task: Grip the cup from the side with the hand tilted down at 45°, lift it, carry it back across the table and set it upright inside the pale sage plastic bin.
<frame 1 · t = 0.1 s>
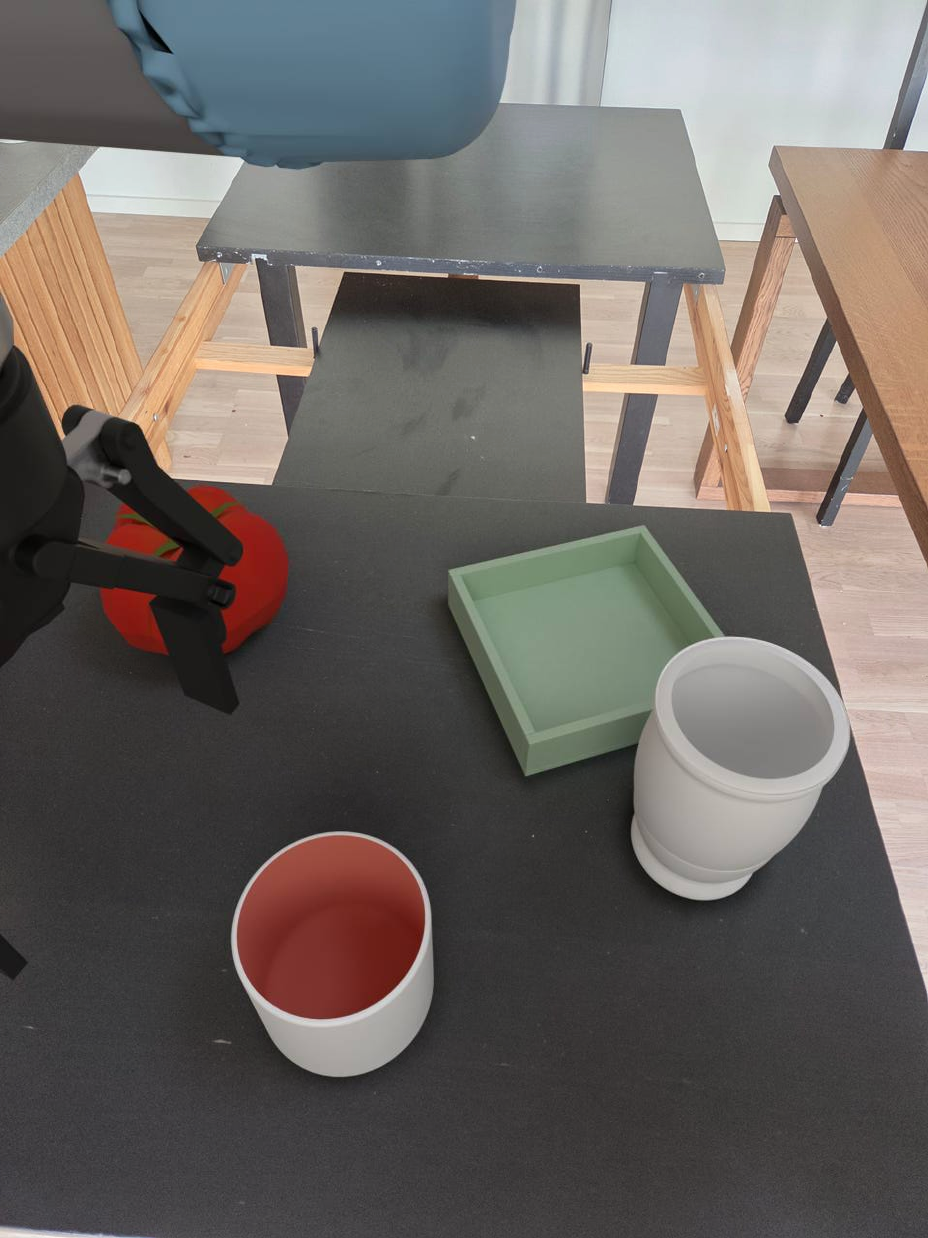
hand: (116, 813, 36), 19 cm above the table, tool pointing down, fingers open, 13 cm apart
cup: (349, 990, 50), on the table
jar: (691, 843, 57), on the table
tomato: (210, 624, 69), on the table
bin: (587, 656, 67), on the table
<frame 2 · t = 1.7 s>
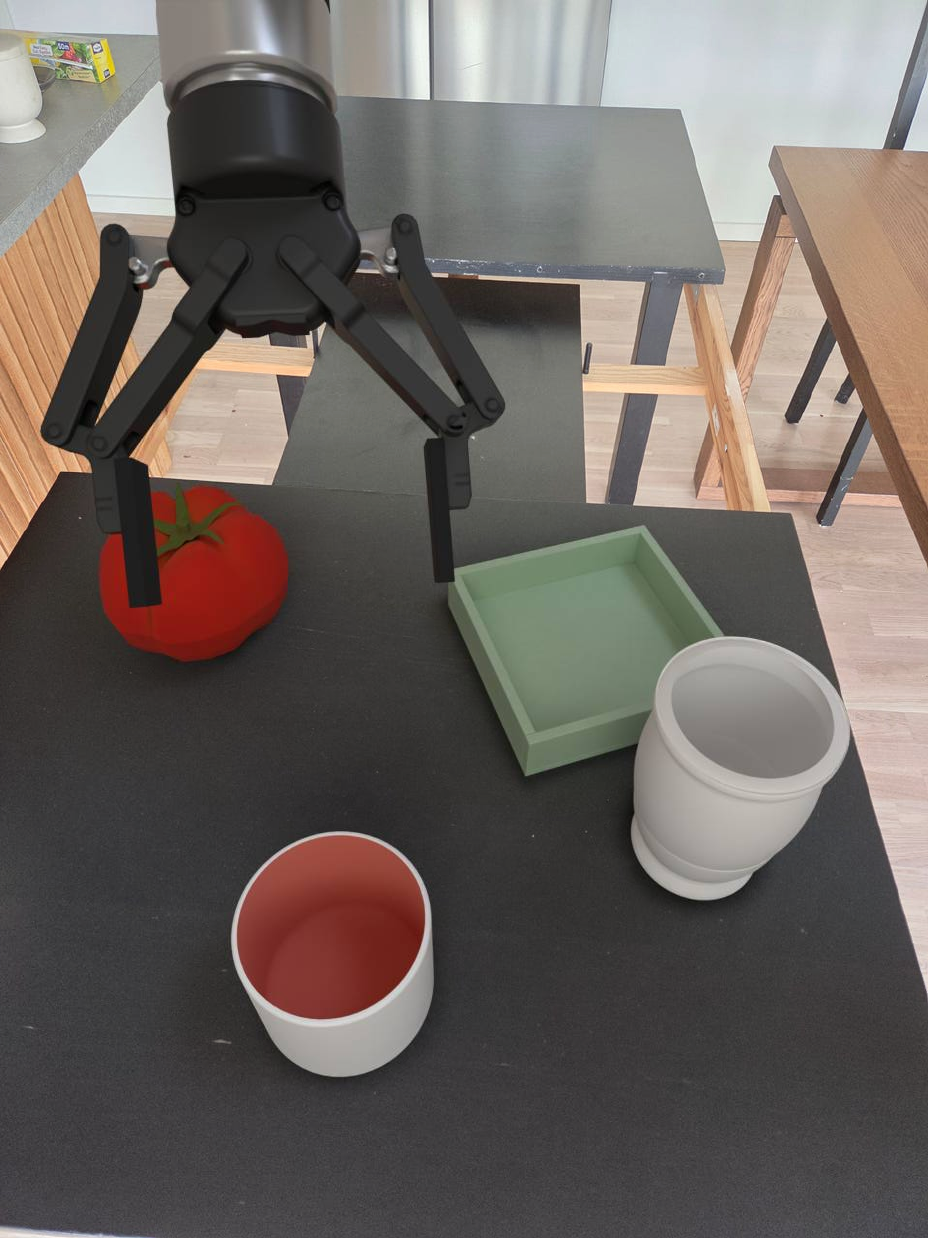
hand: (298, 595, 39), 23 cm above the table, tool tilted 45°, fingers open, 13 cm apart
nothing on the table moved.
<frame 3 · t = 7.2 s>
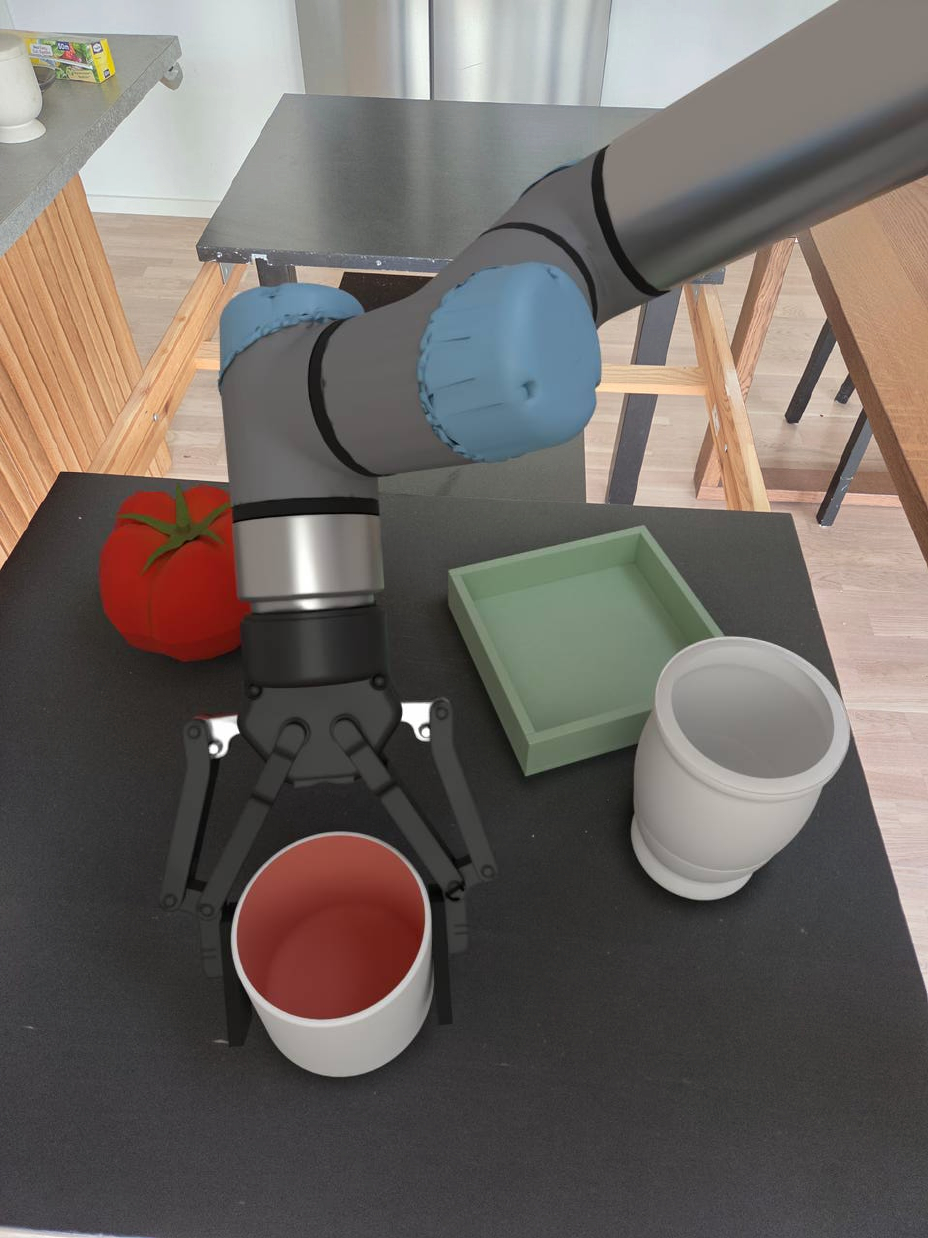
hand: (343, 1022, 45), 4 cm above the table, tool tilted 45°, fingers closed on cup, 10 cm apart
cup: (349, 990, 50), on the table, touching gripper
everything else where it was.
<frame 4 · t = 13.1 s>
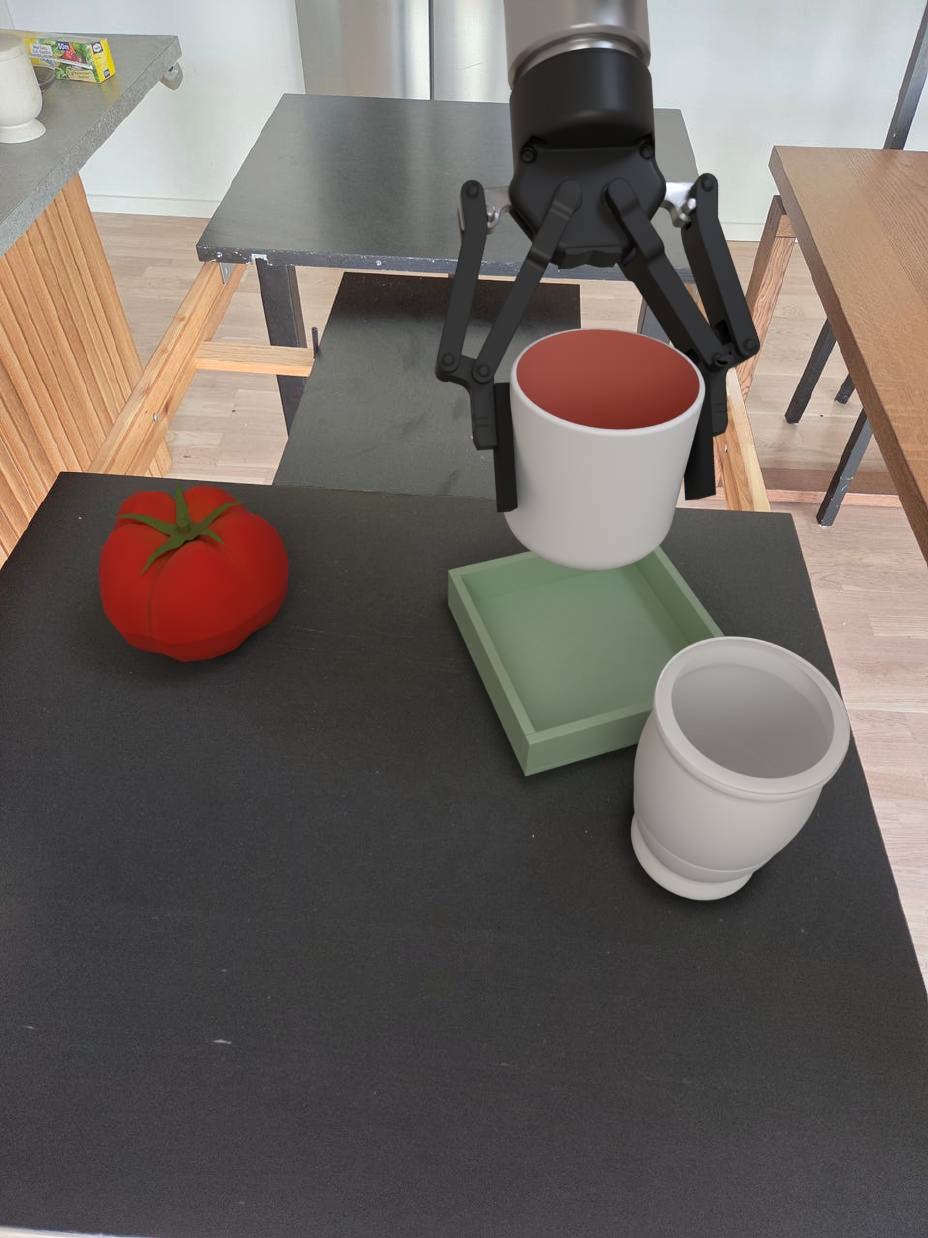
hand: (604, 504, 46), 22 cm above the table, tool tilted 45°, fingers closed on cup, 10 cm apart
cup: (584, 524, 51), point 18 cm above the table, touching gripper
everything else where it was.
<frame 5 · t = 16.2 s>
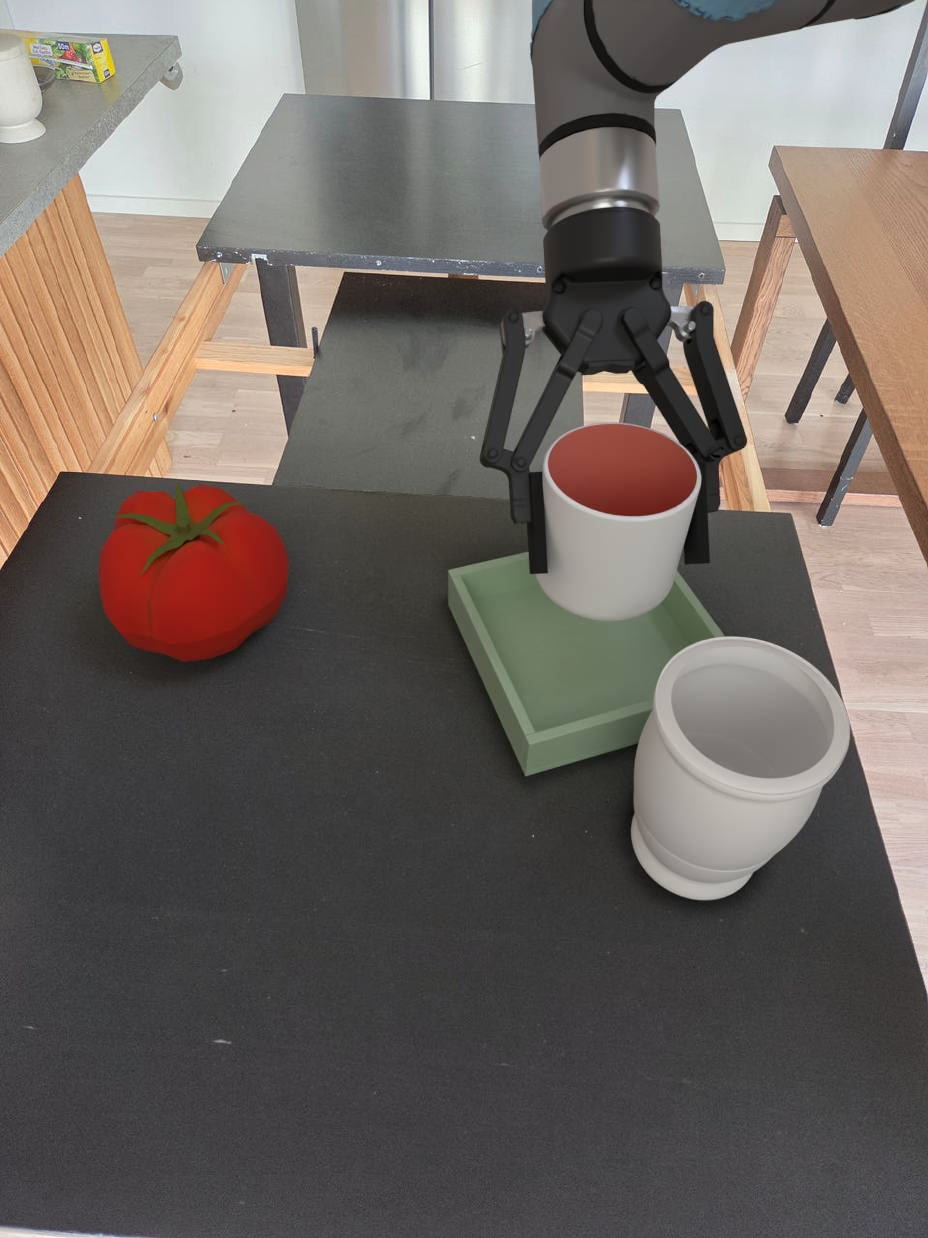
hand: (618, 568, 56), 13 cm above the table, tool tilted 45°, fingers closed on cup, 10 cm apart
cup: (600, 580, 61), point 8 cm above the table, touching gripper
everything else where it was.
when the fingers open (5 cm above the table, at t = 19.0 s): cup stays where it is, resting on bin.
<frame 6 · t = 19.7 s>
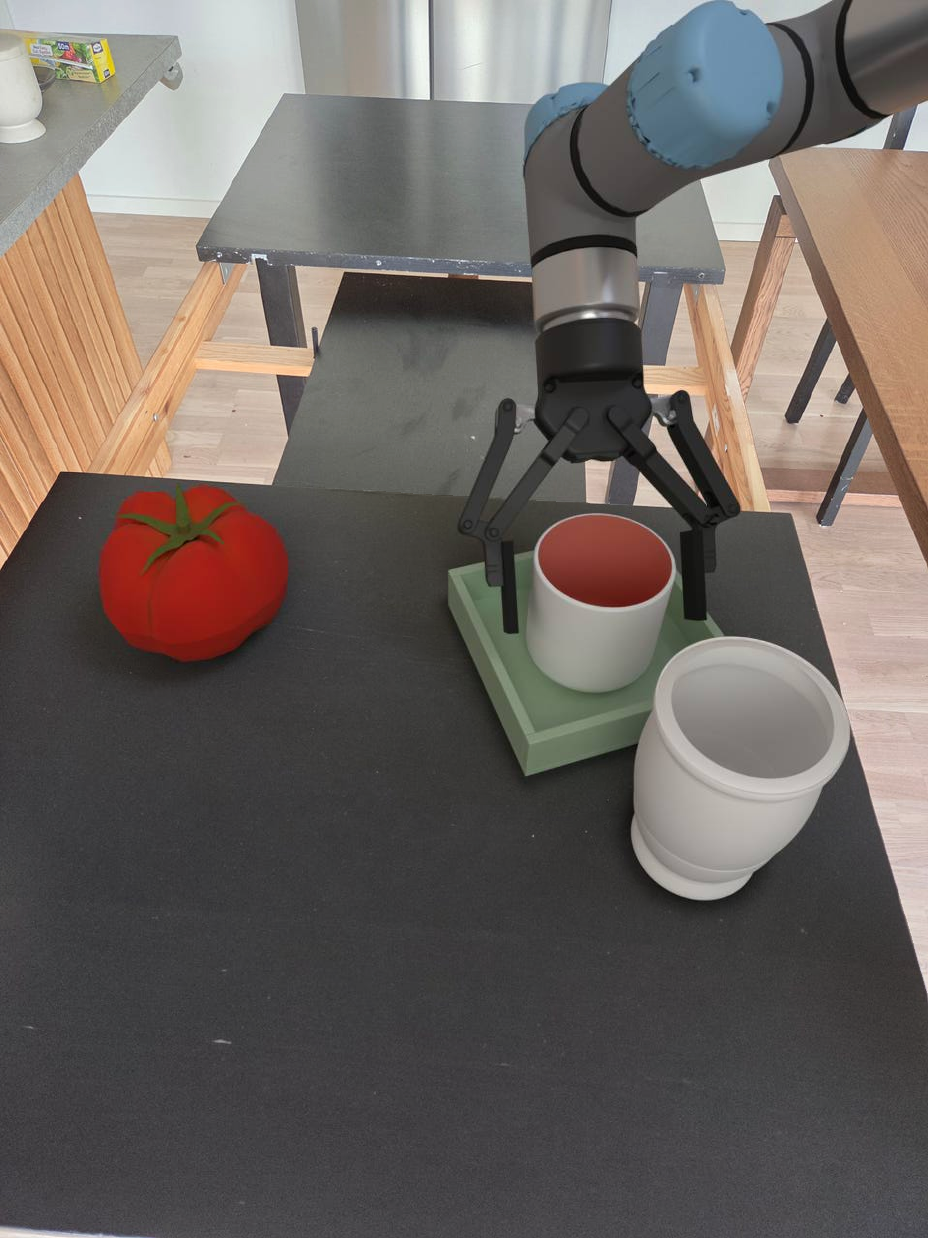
hand: (604, 626, 61), 6 cm above the table, tool tilted 45°, fingers open, 13 cm apart
cup: (587, 651, 67), resting on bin
everything else where it was.
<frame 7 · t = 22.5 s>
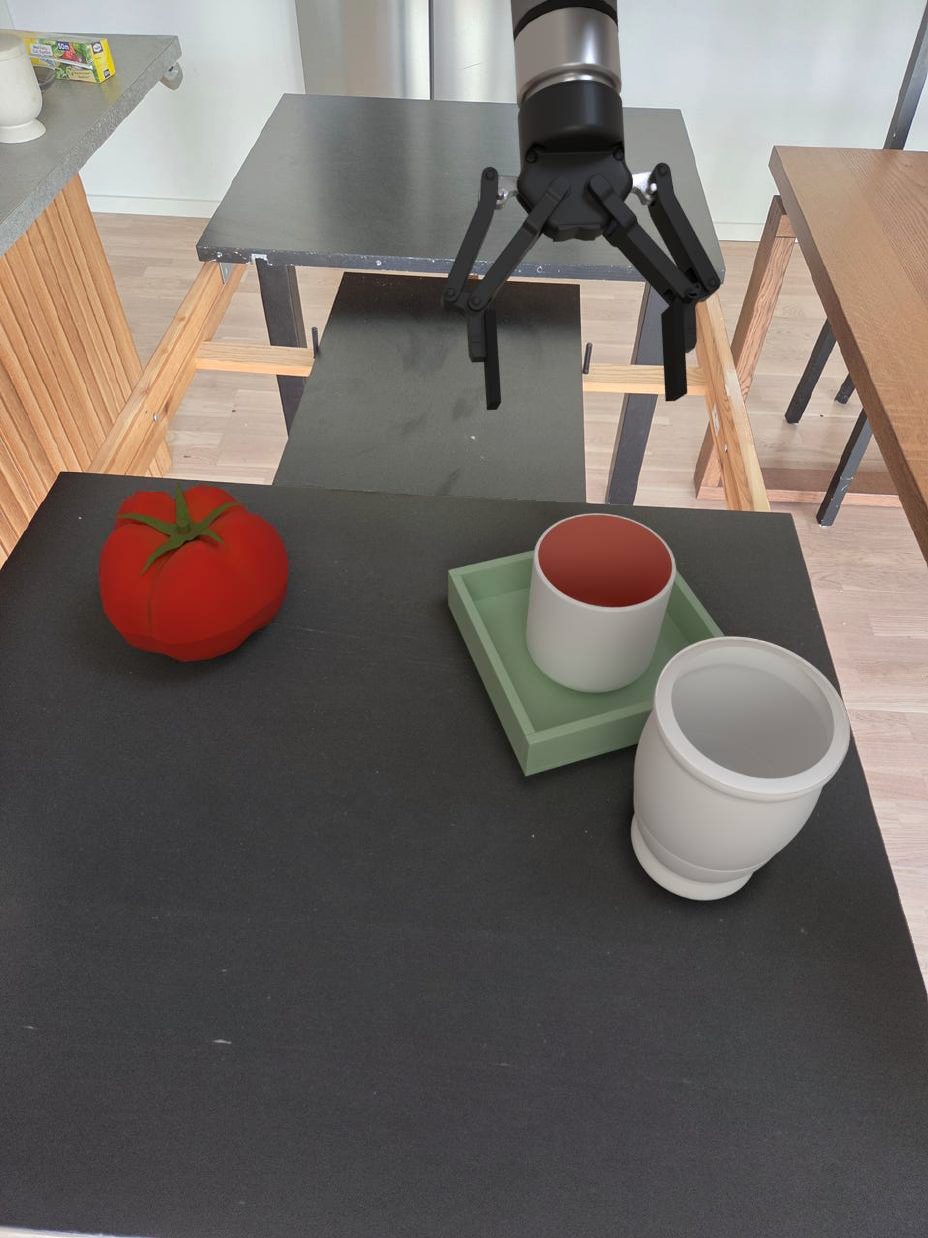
hand: (585, 402, 62), 17 cm above the table, tool tilted 45°, fingers open, 13 cm apart
nothing on the table moved.
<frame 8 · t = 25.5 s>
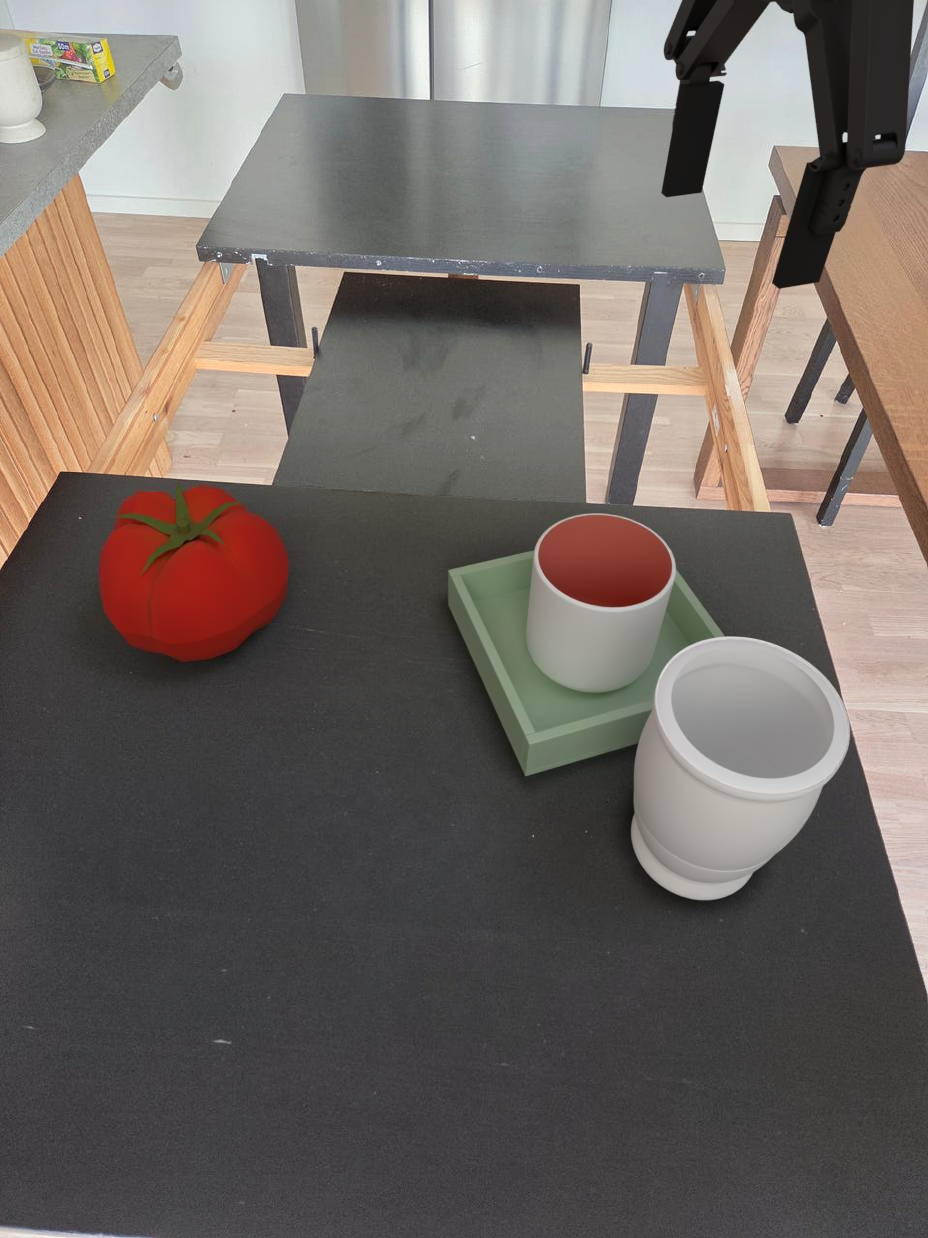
hand: (733, 234, 53), 29 cm above the table, tool pointing down, fingers open, 13 cm apart
nothing on the table moved.
at the end: cup inside the target area in the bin (0.1 cm from its centre), point 0.4 cm above the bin's base; cup tilted 0°; the gripper is holding nothing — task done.
